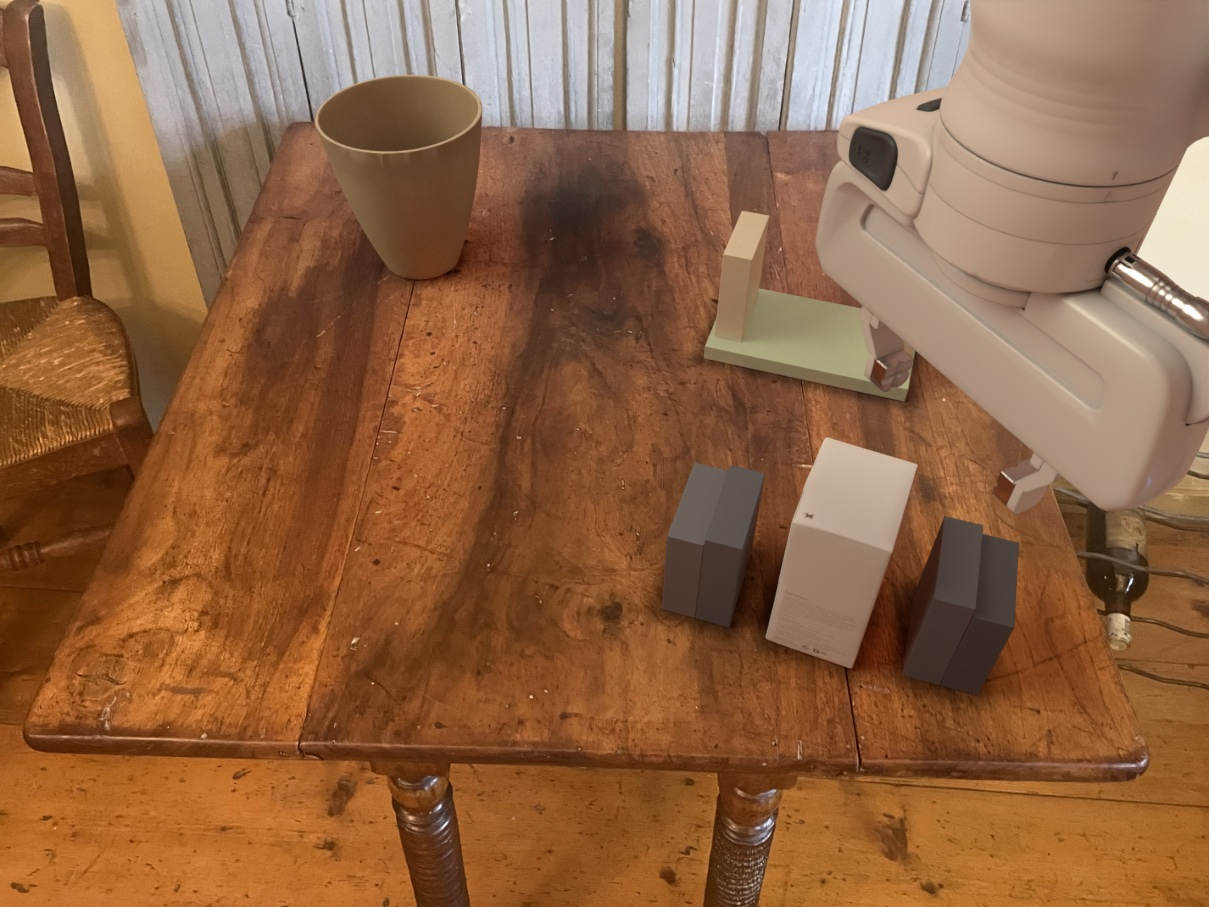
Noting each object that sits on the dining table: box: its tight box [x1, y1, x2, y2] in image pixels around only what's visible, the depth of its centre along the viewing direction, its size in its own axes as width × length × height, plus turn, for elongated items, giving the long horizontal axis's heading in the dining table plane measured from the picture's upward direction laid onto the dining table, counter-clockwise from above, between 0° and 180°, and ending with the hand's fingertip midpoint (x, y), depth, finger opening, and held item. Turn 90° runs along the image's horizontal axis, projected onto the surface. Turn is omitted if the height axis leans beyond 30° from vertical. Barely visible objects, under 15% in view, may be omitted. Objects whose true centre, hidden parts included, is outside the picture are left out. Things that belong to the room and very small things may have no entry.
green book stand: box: [703, 210, 916, 403], centre depth 87 cm, size 18×10×10 cm, turn 72°
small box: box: [765, 436, 919, 669], centre depth 66 cm, size 8×6×13 cm
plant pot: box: [314, 74, 483, 281], centre depth 94 cm, size 15×15×16 cm
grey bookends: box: [661, 462, 1020, 697], centre depth 67 cm, size 22×7×9 cm, turn 72°
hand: (945, 437), depth 49 cm, fingers open, 8 cm apart
